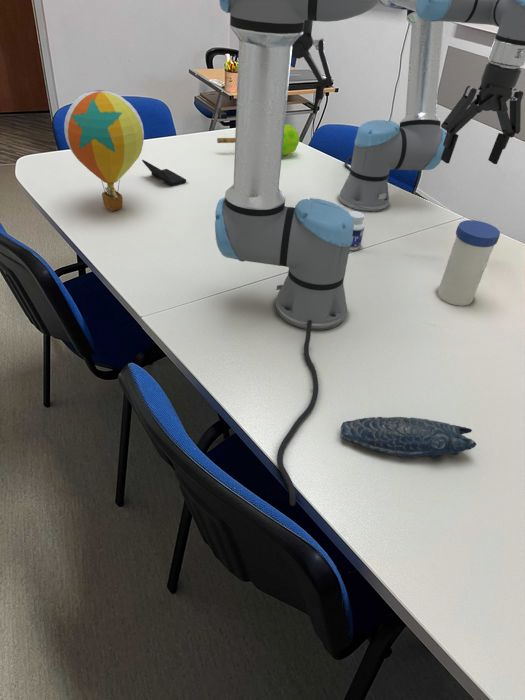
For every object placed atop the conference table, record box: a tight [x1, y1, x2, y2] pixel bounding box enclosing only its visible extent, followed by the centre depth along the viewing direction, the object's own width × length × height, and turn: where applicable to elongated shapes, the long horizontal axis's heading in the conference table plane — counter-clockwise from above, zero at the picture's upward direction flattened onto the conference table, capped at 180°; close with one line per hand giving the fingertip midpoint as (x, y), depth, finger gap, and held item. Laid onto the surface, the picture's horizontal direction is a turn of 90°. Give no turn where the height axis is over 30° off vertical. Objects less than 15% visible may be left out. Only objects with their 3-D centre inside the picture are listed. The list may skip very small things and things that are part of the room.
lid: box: [455, 219, 501, 247], centre depth 112 cm, size 9×9×2 cm
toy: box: [63, 89, 145, 212], centre depth 136 cm, size 20×20×30 cm
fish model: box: [340, 416, 477, 458], centre depth 82 cm, size 7×21×5 cm, turn 84°
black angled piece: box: [141, 159, 187, 187], centre depth 162 cm, size 12×7×10 cm
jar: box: [437, 235, 495, 307], centre depth 117 cm, size 8×8×17 cm
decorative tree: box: [216, 124, 300, 156], centre depth 186 cm, size 18×10×30 cm
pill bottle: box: [348, 210, 365, 251], centre depth 135 cm, size 5×5×9 cm
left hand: (288, 109), depth 135 cm, fingers open, 13 cm apart
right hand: (468, 161), depth 126 cm, fingers open, 13 cm apart
